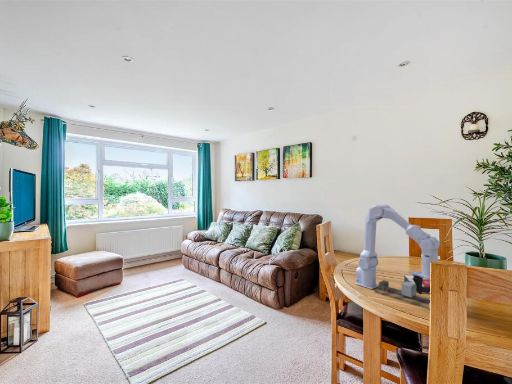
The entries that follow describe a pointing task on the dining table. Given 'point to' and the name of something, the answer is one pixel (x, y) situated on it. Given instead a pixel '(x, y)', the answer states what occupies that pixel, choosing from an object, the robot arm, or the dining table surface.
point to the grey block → (408, 289)
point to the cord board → (397, 294)
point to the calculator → (424, 283)
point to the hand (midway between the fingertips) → (430, 296)
